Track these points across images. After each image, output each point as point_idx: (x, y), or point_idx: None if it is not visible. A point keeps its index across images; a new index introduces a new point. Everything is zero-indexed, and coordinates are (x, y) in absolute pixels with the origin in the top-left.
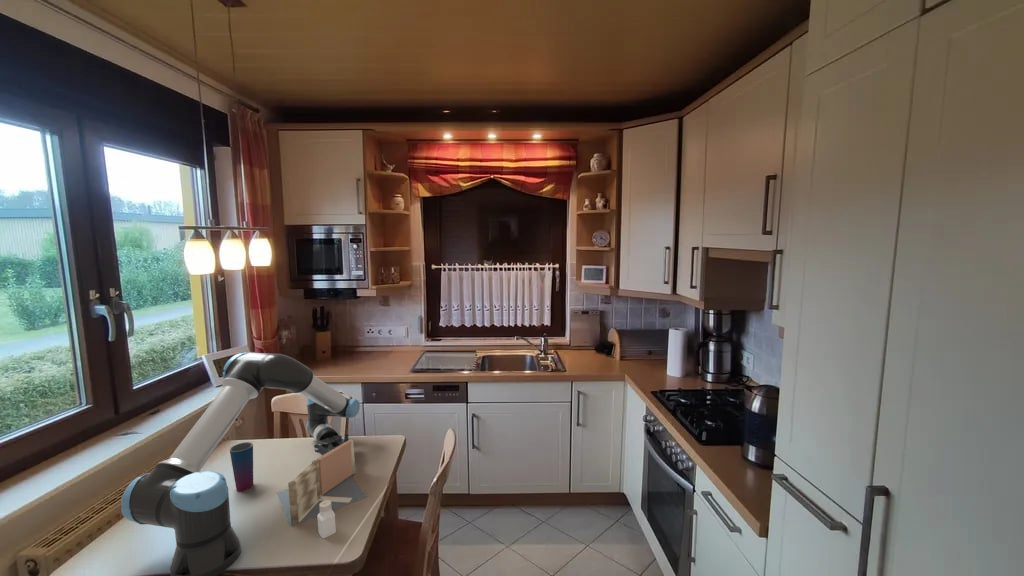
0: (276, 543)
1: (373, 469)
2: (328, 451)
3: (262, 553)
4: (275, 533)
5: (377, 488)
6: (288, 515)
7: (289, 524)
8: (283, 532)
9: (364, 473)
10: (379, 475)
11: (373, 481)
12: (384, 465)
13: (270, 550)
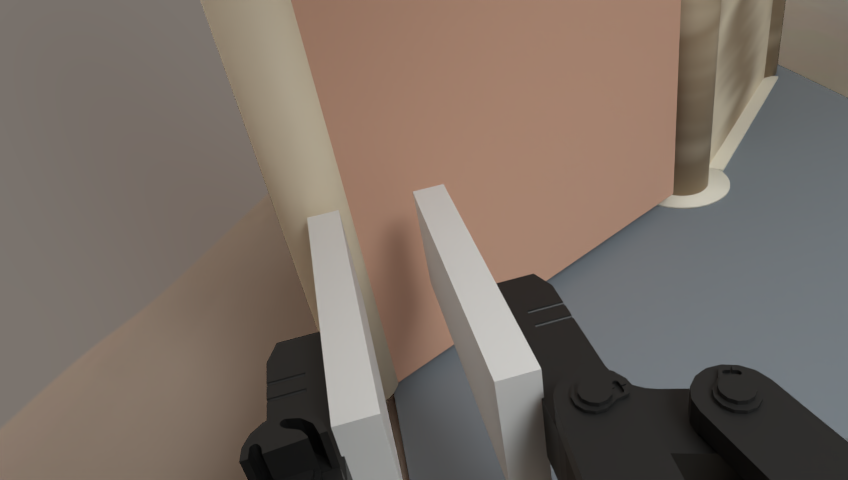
0: (792, 30)
1: (146, 440)
2: (722, 386)
3: (829, 9)
4: (841, 54)
5: (263, 216)
6: (838, 102)
7: (785, 69)
8: (794, 57)
9: (257, 400)
10: (165, 333)
11: (247, 279)
12: (11, 475)
13: (799, 15)
